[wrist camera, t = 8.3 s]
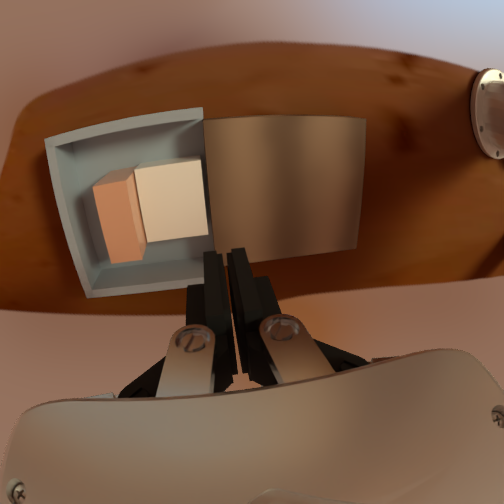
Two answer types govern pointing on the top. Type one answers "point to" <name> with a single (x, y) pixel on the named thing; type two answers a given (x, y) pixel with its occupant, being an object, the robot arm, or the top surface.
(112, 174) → the terracotta tile
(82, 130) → the tray
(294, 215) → the walnut board
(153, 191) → the cream tile
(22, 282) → the top surface
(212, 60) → the top surface
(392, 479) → the robot arm
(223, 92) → the top surface
